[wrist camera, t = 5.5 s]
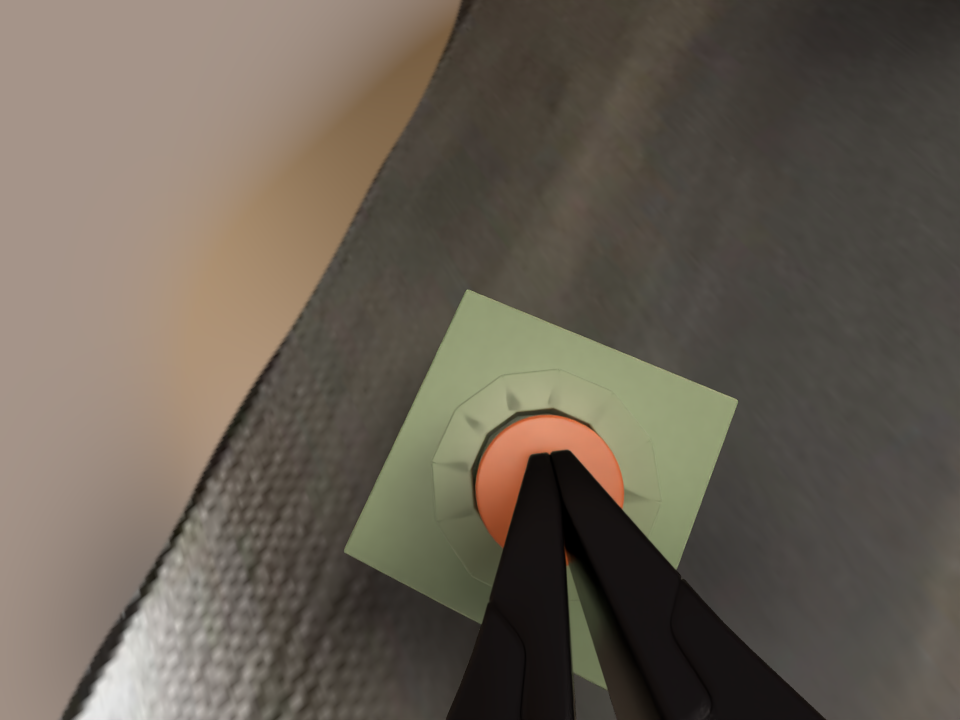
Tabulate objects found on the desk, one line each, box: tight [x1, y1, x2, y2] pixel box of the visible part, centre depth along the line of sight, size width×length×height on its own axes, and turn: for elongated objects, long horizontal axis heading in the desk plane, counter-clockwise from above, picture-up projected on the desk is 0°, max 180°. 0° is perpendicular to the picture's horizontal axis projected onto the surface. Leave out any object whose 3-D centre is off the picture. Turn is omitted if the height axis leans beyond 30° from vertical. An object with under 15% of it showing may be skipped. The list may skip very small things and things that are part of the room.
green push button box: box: [344, 290, 738, 691], centre depth 17 cm, size 10×10×8 cm
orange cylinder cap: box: [475, 415, 624, 566], centre depth 12 cm, size 4×4×3 cm
